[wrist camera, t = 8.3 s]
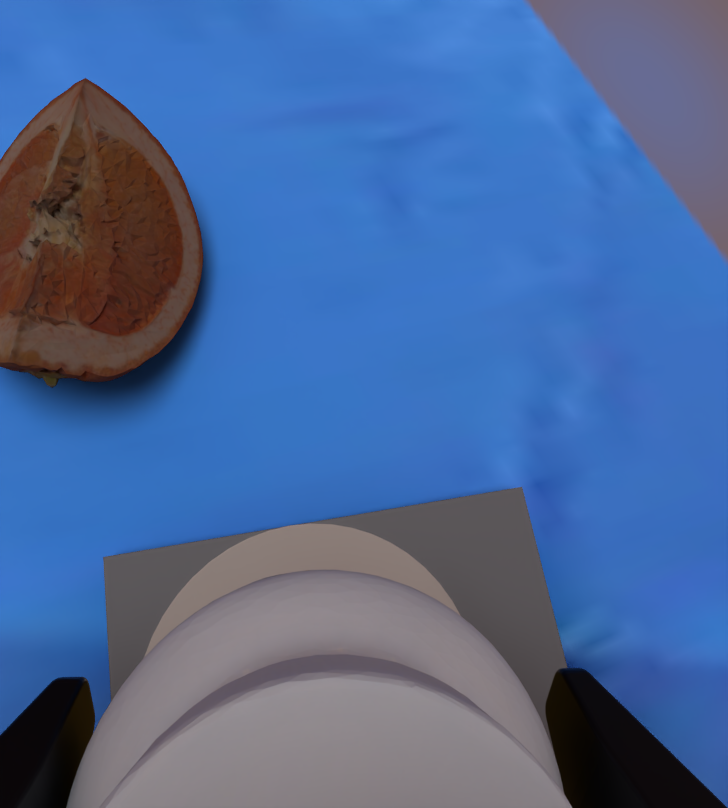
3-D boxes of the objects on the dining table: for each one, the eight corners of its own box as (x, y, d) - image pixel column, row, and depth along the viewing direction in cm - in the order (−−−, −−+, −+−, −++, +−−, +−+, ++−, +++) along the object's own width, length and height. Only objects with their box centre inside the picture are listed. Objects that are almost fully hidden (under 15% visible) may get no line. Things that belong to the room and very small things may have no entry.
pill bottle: (336, 527, 17) (408, 413, 6) (485, 726, 16) (928, 1063, 5) (131, 685, 15) (-327, 955, 4) (281, 921, 14) (213, 2179, 3)
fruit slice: (181, 430, 19) (143, 375, 14) (-44, 404, 18) (-164, 339, 13) (224, 202, 21) (204, 91, 16) (27, 174, 21) (-52, 51, 16)
